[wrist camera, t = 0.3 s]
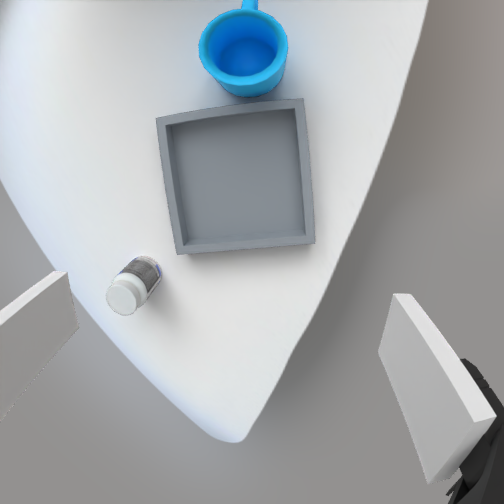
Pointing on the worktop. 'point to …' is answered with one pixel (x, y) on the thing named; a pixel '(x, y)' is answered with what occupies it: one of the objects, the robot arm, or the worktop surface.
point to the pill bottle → (133, 285)
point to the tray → (238, 176)
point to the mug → (244, 50)
